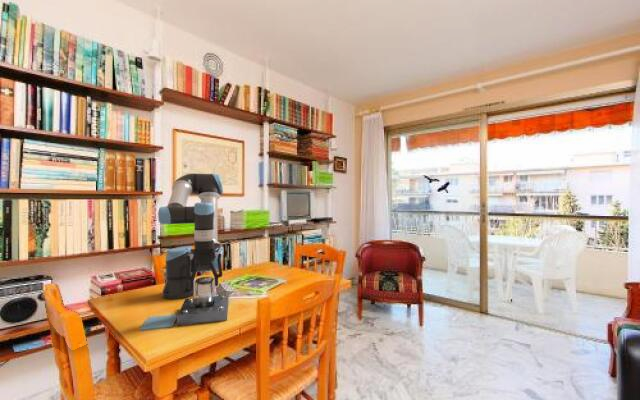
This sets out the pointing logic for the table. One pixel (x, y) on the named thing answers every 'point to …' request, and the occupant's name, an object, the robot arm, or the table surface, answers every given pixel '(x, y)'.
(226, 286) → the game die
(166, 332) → the table surface
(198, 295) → the silver cylinder
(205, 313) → the housing
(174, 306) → the table surface
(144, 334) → the table surface
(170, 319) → the mat
